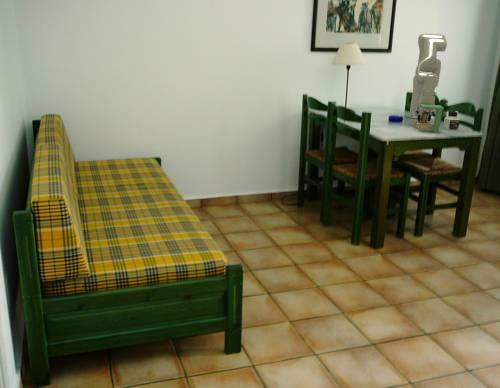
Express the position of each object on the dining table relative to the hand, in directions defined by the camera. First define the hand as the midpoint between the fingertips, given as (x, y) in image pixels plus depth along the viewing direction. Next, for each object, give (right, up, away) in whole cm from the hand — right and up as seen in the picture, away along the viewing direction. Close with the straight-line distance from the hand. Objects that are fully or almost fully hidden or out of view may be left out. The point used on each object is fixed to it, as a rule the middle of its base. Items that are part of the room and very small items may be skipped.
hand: (423, 120), depth 348 cm
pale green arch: (0, -8, -8) cm, 11 cm away
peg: (0, -4, +2) cm, 5 cm away
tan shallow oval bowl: (0, -5, 0) cm, 5 cm away
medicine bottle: (+19, -5, +3) cm, 20 cm away
